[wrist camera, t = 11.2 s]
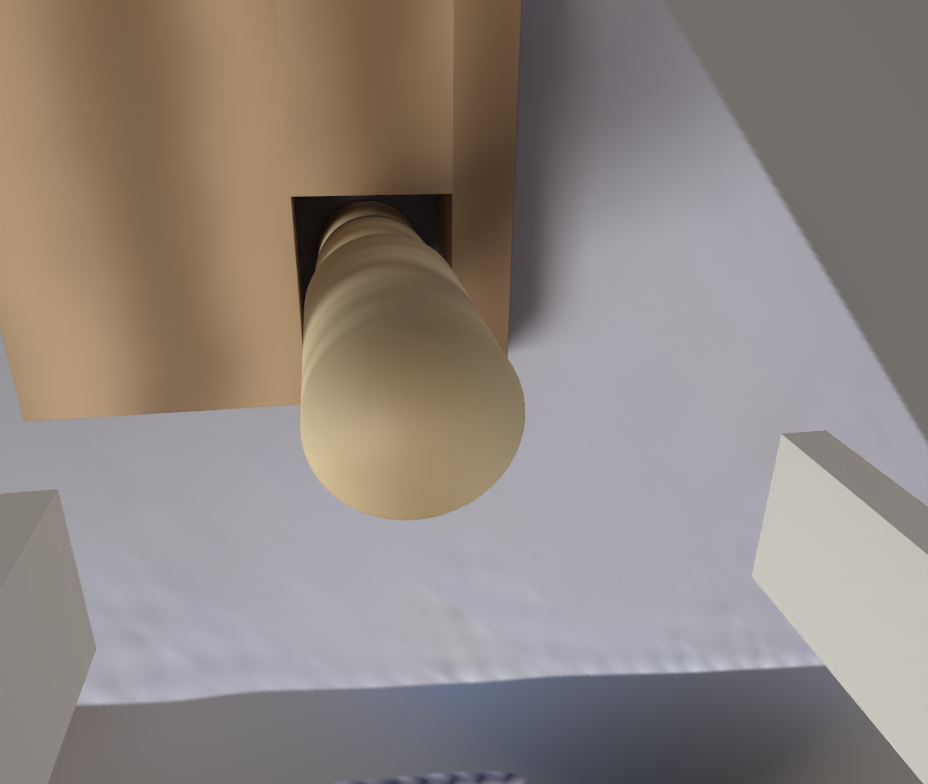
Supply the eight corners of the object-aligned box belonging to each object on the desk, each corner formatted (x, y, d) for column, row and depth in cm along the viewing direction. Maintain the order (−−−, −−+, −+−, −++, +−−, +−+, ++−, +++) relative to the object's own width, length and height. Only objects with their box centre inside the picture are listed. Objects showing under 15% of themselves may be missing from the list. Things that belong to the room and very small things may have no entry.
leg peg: (310, 312, 28) (308, 529, 15) (301, 190, 26) (291, 322, 14) (429, 307, 29) (520, 510, 16) (429, 187, 27) (530, 312, 14)
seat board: (52, 384, 27) (23, 421, 25) (-43, -28, 22) (-92, -38, 19) (488, 360, 30) (506, 391, 27) (499, -13, 25) (522, -20, 22)
